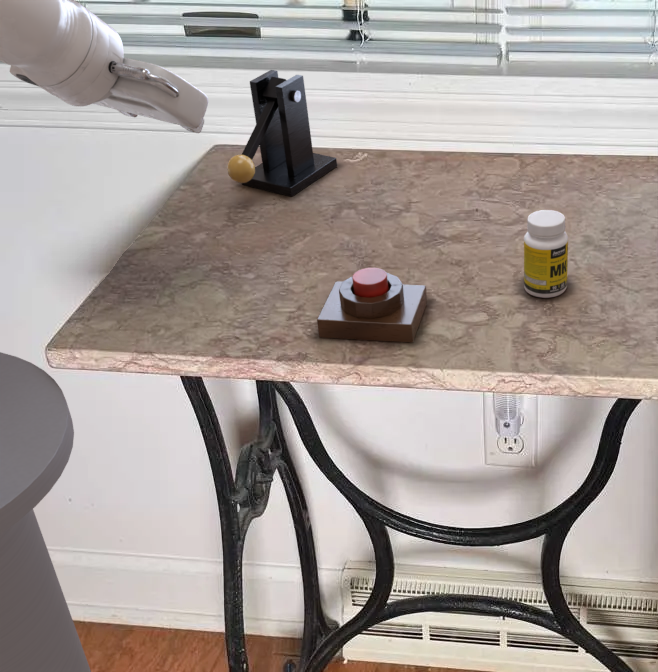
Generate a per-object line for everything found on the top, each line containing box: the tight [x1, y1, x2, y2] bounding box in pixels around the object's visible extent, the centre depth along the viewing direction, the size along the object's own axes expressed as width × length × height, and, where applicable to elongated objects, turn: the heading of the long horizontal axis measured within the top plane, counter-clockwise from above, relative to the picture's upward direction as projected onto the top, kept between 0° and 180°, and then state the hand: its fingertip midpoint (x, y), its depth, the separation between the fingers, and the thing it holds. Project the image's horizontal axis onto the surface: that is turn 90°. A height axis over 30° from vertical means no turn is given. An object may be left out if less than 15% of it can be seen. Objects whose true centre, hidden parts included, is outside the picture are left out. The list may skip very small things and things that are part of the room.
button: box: [351, 267, 388, 298], centre depth 123 cm, size 4×4×2 cm
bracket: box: [241, 69, 338, 198], centre depth 150 cm, size 10×8×13 cm
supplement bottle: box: [523, 209, 569, 299], centre depth 127 cm, size 5×5×8 cm
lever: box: [226, 76, 287, 184], centre depth 147 cm, size 14×3×3 cm
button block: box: [316, 272, 428, 343], centre depth 125 cm, size 10×8×4 cm
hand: (165, 118), depth 130 cm, fingers open, 8 cm apart
